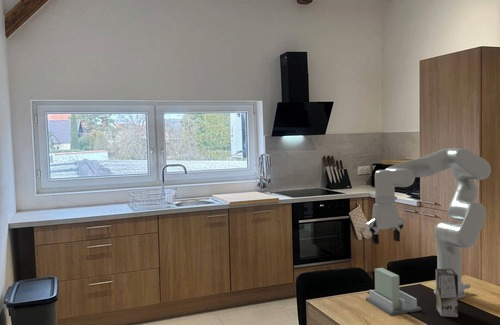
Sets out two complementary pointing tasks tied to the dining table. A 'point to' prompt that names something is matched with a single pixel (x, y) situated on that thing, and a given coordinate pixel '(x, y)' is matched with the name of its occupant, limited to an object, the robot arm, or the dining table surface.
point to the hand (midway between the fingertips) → (386, 242)
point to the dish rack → (386, 305)
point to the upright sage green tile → (387, 286)
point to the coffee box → (447, 292)
